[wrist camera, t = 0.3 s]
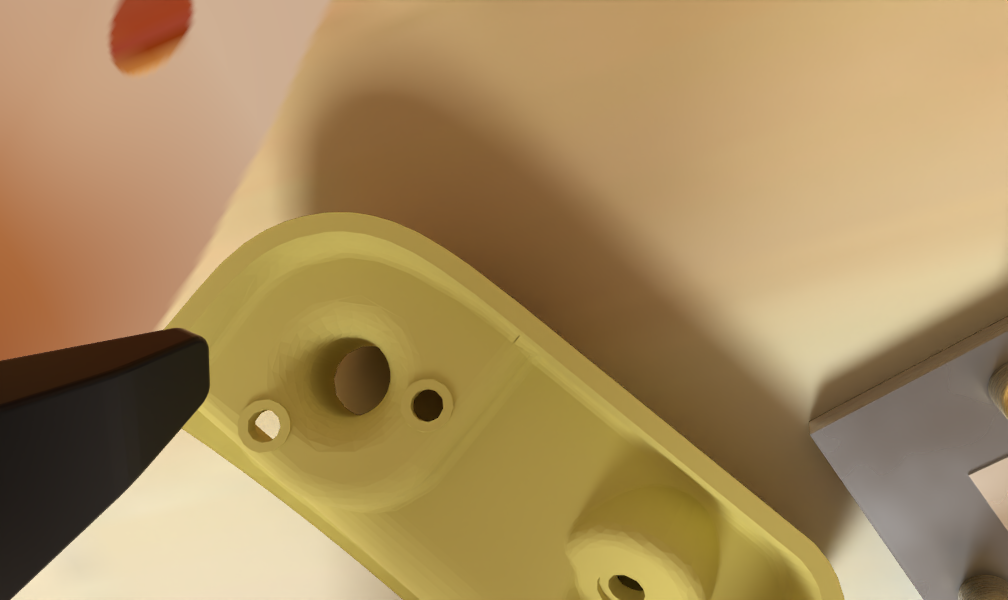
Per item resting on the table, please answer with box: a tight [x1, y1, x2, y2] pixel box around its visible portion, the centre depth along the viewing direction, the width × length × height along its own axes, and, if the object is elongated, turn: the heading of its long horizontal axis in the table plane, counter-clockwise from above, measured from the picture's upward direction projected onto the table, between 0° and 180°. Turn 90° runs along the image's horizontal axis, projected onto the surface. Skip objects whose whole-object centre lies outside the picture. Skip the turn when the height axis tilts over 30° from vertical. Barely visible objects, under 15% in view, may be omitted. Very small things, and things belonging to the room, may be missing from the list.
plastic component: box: [164, 212, 844, 600], centre depth 25 cm, size 20×7×10 cm
